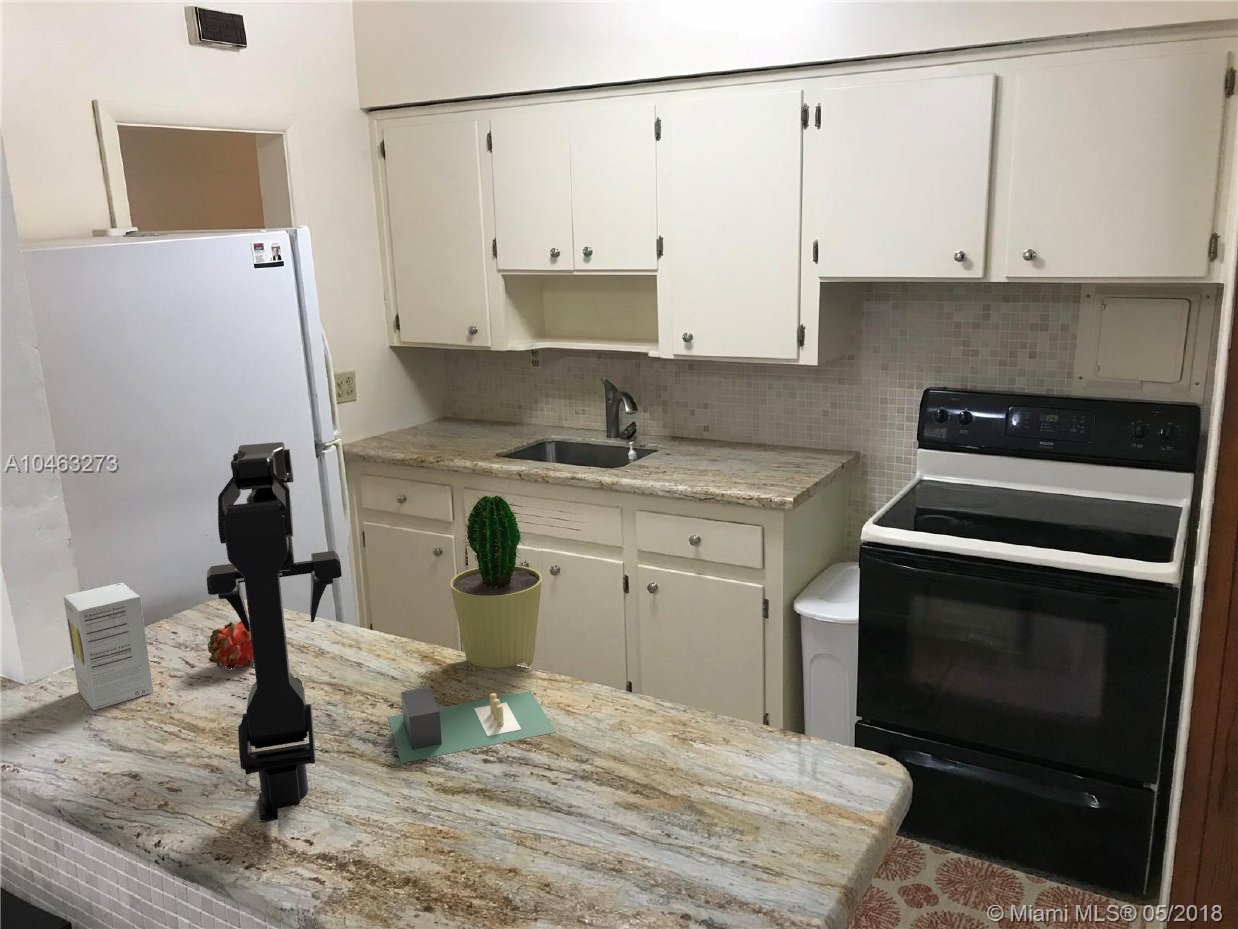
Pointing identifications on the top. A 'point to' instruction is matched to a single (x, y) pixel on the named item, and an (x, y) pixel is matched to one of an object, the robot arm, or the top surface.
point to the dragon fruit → (231, 646)
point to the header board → (478, 725)
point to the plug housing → (421, 718)
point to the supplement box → (108, 645)
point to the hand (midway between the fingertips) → (280, 626)
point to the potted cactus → (496, 591)
